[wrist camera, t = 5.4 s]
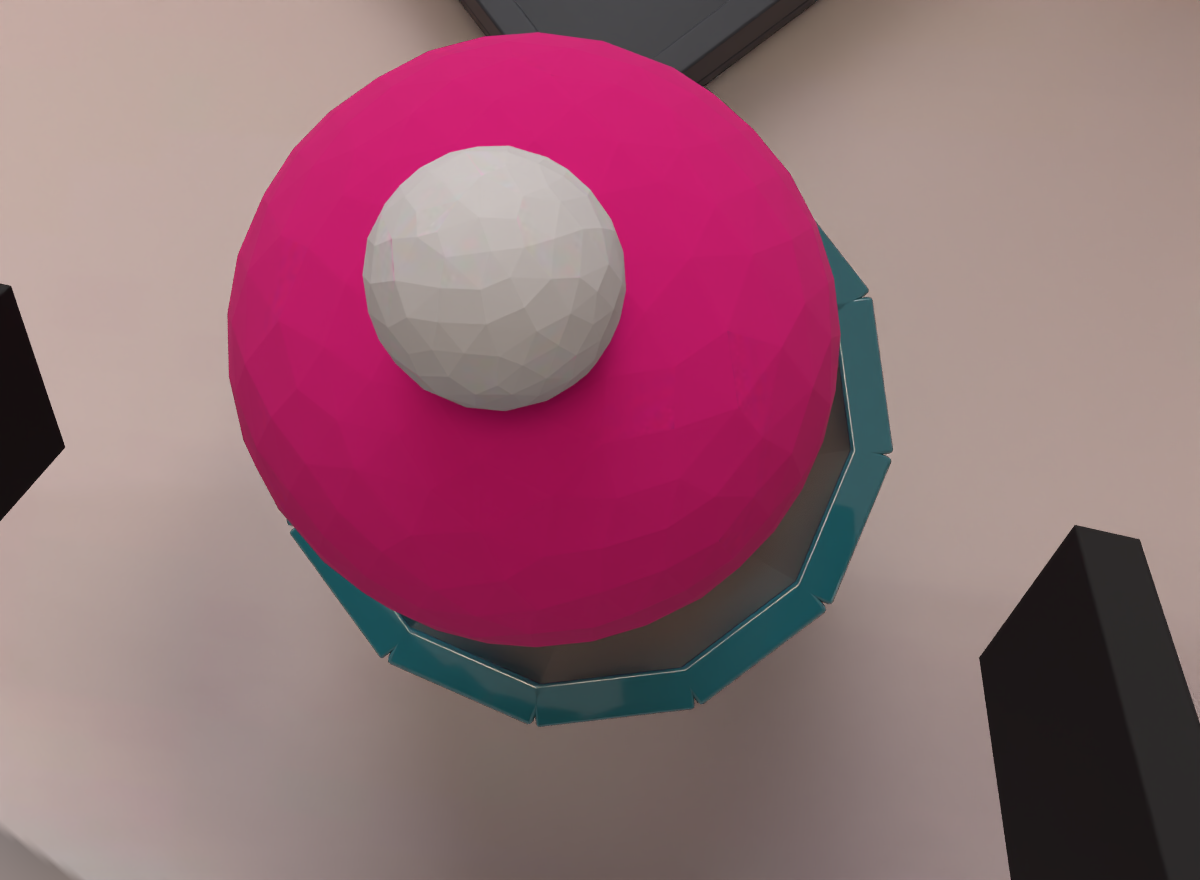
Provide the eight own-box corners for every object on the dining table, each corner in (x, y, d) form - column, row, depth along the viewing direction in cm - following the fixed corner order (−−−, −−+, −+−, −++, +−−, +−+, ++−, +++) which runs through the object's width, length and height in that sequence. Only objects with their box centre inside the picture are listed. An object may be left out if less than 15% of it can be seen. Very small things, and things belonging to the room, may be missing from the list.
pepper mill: (783, 434, 25) (1357, 253, 6) (590, 624, 25) (462, 1141, 5) (594, 244, 26) (489, -571, 6) (402, 430, 26) (-365, 245, 6)
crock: (898, 475, 25) (1012, 472, 18) (548, 738, 25) (516, 846, 18) (634, 133, 26) (638, -8, 18) (292, 390, 26) (157, 352, 18)
